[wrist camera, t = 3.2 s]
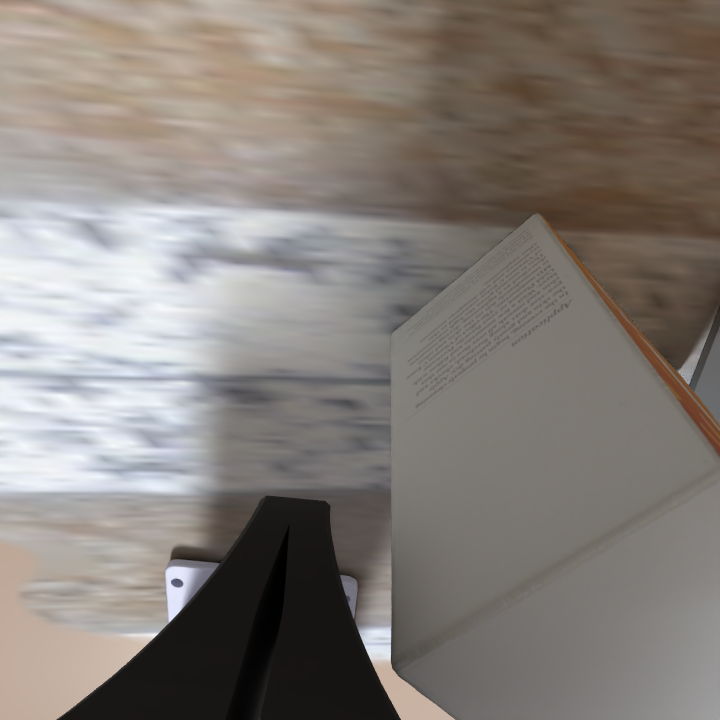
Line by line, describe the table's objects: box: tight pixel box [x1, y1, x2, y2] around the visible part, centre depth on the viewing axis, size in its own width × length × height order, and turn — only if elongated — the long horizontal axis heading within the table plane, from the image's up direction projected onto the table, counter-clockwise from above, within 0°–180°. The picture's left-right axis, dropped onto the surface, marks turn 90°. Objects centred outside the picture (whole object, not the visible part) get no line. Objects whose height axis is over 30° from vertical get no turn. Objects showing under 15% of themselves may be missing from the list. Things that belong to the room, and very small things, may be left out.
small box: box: [391, 213, 720, 720], centre depth 16 cm, size 8×6×13 cm
